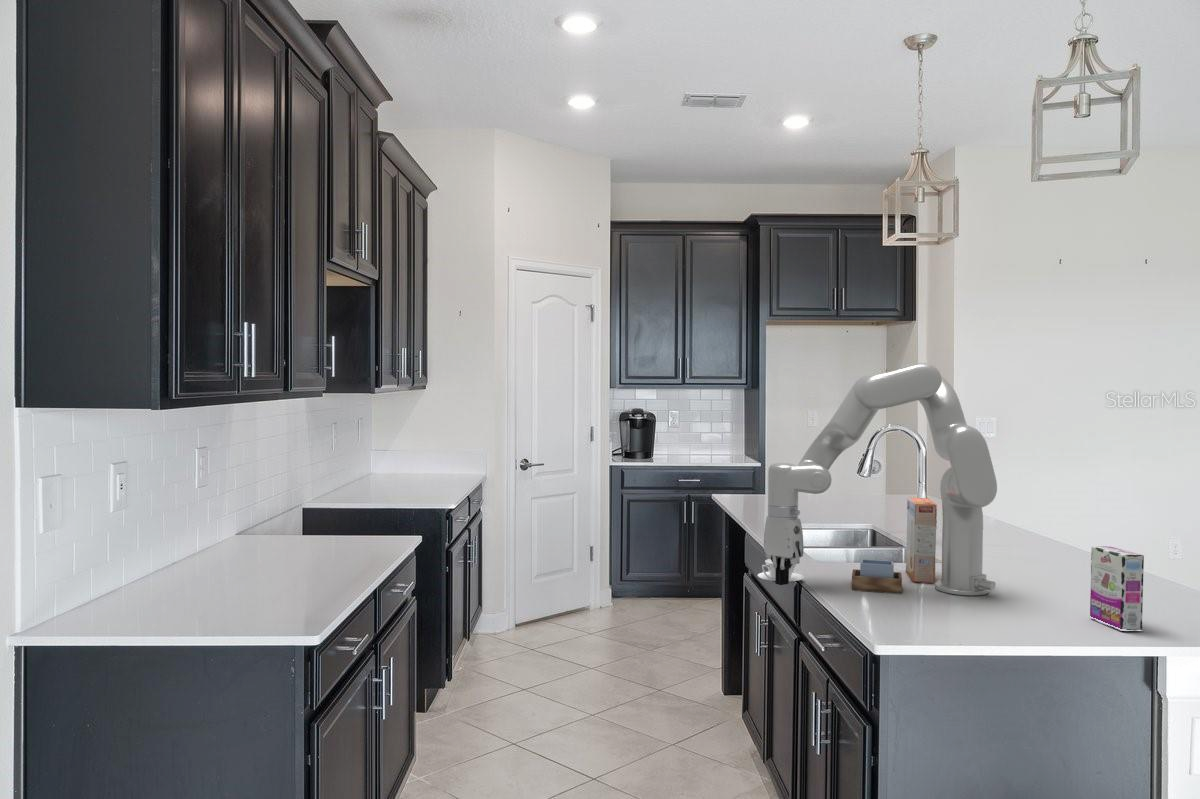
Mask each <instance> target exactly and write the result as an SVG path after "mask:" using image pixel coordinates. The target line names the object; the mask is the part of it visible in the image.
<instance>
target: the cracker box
mask: <svg viewBox="0 0 1200 799" xmlns="http://www.w3.org/2000/svg"><path fill="white" fill-rule="evenodd" d="M906 503H907V507H906V548H905V549H906V551H905V573H906V574H907V575H908V577H909V578H910V579H911V581H912V582H913V583H925V584H935V583H936V582H935V581H936V550H937V549H936V548H937V547H936V546H937V544H936V543H937V518H938V517H937V514H938V513H937V511H938V507H937V506H938V505H937V504H936V503H935V502H933V501H932V500H931V499H930V498H926V497H907V502H906Z"/></svg>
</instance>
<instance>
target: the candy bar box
mask: <svg viewBox="0 0 1200 799" xmlns="http://www.w3.org/2000/svg"><path fill="white" fill-rule="evenodd" d="M1144 558H1145V555H1143V554H1141V553H1140V554H1139V553H1136V552H1132V551H1129V550H1125V549H1121V548H1117V547H1113V546H1106V545H1105V546H1101V545H1099V546H1091V558H1090V561H1091V562H1090V598H1089V599H1090V604H1089V605H1090V606H1089V607H1090V608H1089V617H1090V616H1091V617H1093V618H1096V619H1098V620H1101V621H1103V622H1105V623H1108V624H1110V625H1113V626H1115V627H1118V628H1120V629H1126V630H1142V631H1143V604H1144V602H1143V601H1144V598H1143V597H1144V595H1143V593H1144V571H1145V570H1144V567H1145V563H1144V562H1145V560H1144Z"/></svg>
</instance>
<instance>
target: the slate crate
mask: <svg viewBox="0 0 1200 799" xmlns="http://www.w3.org/2000/svg"><path fill="white" fill-rule="evenodd" d="M859 564H860V568H859V570H860V576H864V577H878V578H893V575H894V572H895V571H894V569H895V568H894V566H895V564H894V561H893V560H882V559H881V560H880V559H868V558H867V559H864V558H861V559H860V563H859Z"/></svg>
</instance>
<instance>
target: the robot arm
mask: <svg viewBox="0 0 1200 799" xmlns="http://www.w3.org/2000/svg"><path fill="white" fill-rule="evenodd" d="M916 401H918V402H919V403H920V405H921V406H922V407H923V409H924V412H925V416H926V418H927V422H928V425H929V429H930V432H931V437H932V441H933V445H934V450H935V452H936V453H937V455H938V456H939V458H942V459H944V460H945V461H949V464H950V467H949V468H947V469H946V470H945V472H944V473H943V475H942V476H941V479H940V488H939V489H940V490H939V491H940V498H941V505H942V506H941V507H942V530H941V533H942V534H941V535H942V536H941V537H942V538H941V543H942V544H941V546H942V547H941V580H940V581H936V582H935V583H934V588H935V590H937V591H940V592H942V593H947V594H951V595H957V596H984V595H987V594H988V593H989V592H990V591H994V590H995V588H996V585H997V584H996V581H992V580H988V579H987V574H986V573H983V553H984V552H983V550H984V549H983V547H984V545H983V542H984V535H983V533H984V513H983V512H984V511H983V508H985V507H987V506H988V505H990V504H991V503H992V502H993V501H994V500H995V498H996V496H997V492H998V484H997V483H998V482H997V477H996V473H995V470H994V466H993V461H992V457H991V454H990V450H989V446H988V444H987V441H986V439H985V437H984V436H983V434H982V433H981V432H980V431H979V430H978V429H977V428H975V427H974V426H970V425H968V424H967V421H966V418H965V414H964V411H963V408H962V405H961V402H960V399H959V396H958V394H957V392H956V390H955V389H954V388H953V386H952V385H951V384H950V383H949V382H948V380H947V379H946V378H944V377H943V376H942V374H941V372H940V371H939V369H938V368H937V367H935V366H934V365H932V364H930V363H926V362H925V363H924V362H919V363H917V362H915V363H914V362H913V363H907V364H906V363H905V364H904V365H901V367H899V368H898V369H896V370H892V371H888V372H883V373H878V374H867V375H866V374H865V375H862V376H861V377H859V378H858V379H857V380H856V381H855V383H854V384H853V385H852V387H851V388H850V390H849V391H848V393H847V394H846V396H845V398H844V399H843V401H842V402H841V403H840V406H838V408H837V410H836V412H835V413H834V414H833V416H832V417H831V419H830V420H829V422H828V423H827V424H826V425H825V426H824V428H823V429H822V431H820V433H819V434H818V435H817V436H816V438H815V439H814V440H813V442H812V443H811V444H810V446H809V447H808V449H807V450H806V451H805V453H804V454H803V456H802V458H801V459H800V461H799V462H798V464H797V465H796V464H793V463H787V462H784V463H783V462H778V463H776V462H775V463H772V464H770V465H769V467H768V472H767V473H768V474H767V479H768V480H767V481H768V482H767V483H768V484H767V485H768V486H767V490H768V491H767V515H766V519H765V523H764V524H765V525H764V529H763V530H764V532H763V551H764V553H765V558H767V559H770V560H771V561H772V562H773V566H774V568H776V569H775V582H774V583H775V585H779V586H784V585H789V584H790V582H789V569H790V568H791V566H792V565H793V564H796V565H798V564H800V558H802V557H804V550H805V549H804V548H805V547H804V534H803V525H802V520H801V518H799V515H800V514H801V511H800V510H799V493H806V494H811V495H821V494H822V493H825V492H826V491H828V489H829V488H830V487H831V485H832V480H833V479H832V475H831V473H830V471H829V470H830V468H831V467H832V465H833V464H834V463H835V461H836V460H837V459H838V457H839V456H840V455H841V454H842V453H843V452H845V451H846V450H847V449H849V448H851V447H852V446H854V444H856V443H857V442H859V440H860V439H861V438H862V436H863V435H864V432H865V431H866V429H867V428H868V426H869V425H870V423H871V422H872V420H873V419H874V418H875V416H876V414H877V413H878V411H879V410H882V409H889V408H893V407H897V406H901V405H906V404H907V403H912V402H916ZM786 560H787V561H786Z"/></svg>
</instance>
